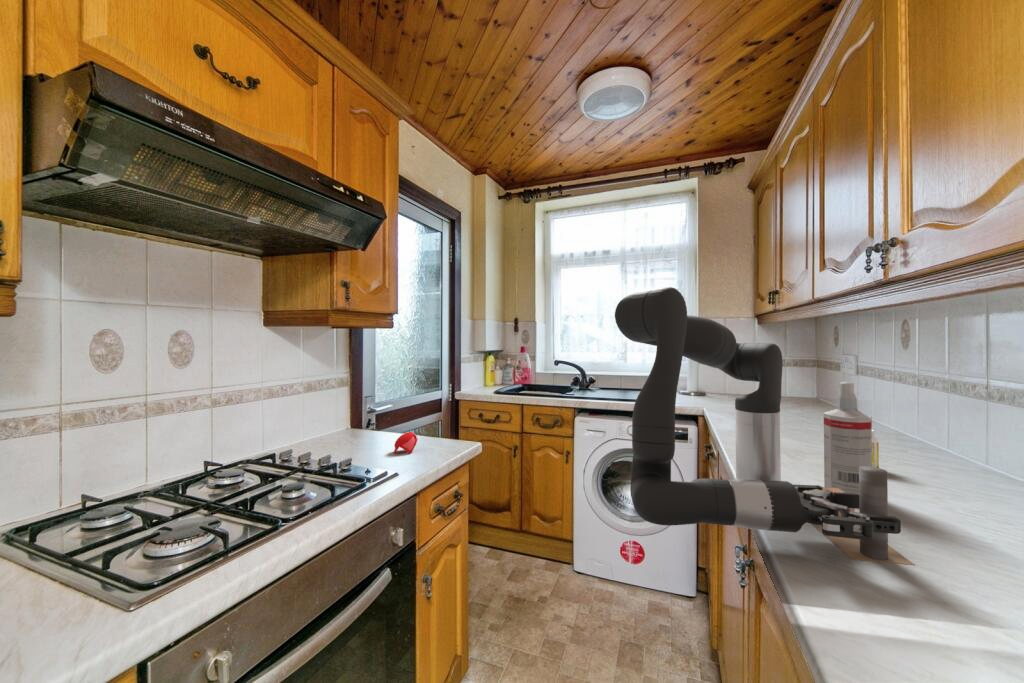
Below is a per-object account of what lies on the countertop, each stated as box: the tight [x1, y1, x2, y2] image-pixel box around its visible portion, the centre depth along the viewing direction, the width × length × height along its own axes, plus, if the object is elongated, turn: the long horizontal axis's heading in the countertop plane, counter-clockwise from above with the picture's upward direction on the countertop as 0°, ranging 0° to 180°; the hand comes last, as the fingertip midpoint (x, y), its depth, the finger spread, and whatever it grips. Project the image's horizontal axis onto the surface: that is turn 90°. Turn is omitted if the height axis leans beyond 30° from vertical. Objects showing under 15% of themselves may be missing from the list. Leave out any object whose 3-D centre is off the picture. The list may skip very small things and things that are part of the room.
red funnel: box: [393, 431, 418, 454], centre depth 127 cm, size 8×6×6 cm
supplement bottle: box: [872, 429, 880, 468], centre depth 104 cm, size 6×6×10 cm
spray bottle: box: [823, 381, 873, 494], centre depth 84 cm, size 8×8×25 cm
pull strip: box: [811, 466, 915, 566], centre depth 70 cm, size 22×8×14 cm, turn 167°
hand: (878, 512), depth 61 cm, fingers open, 8 cm apart
